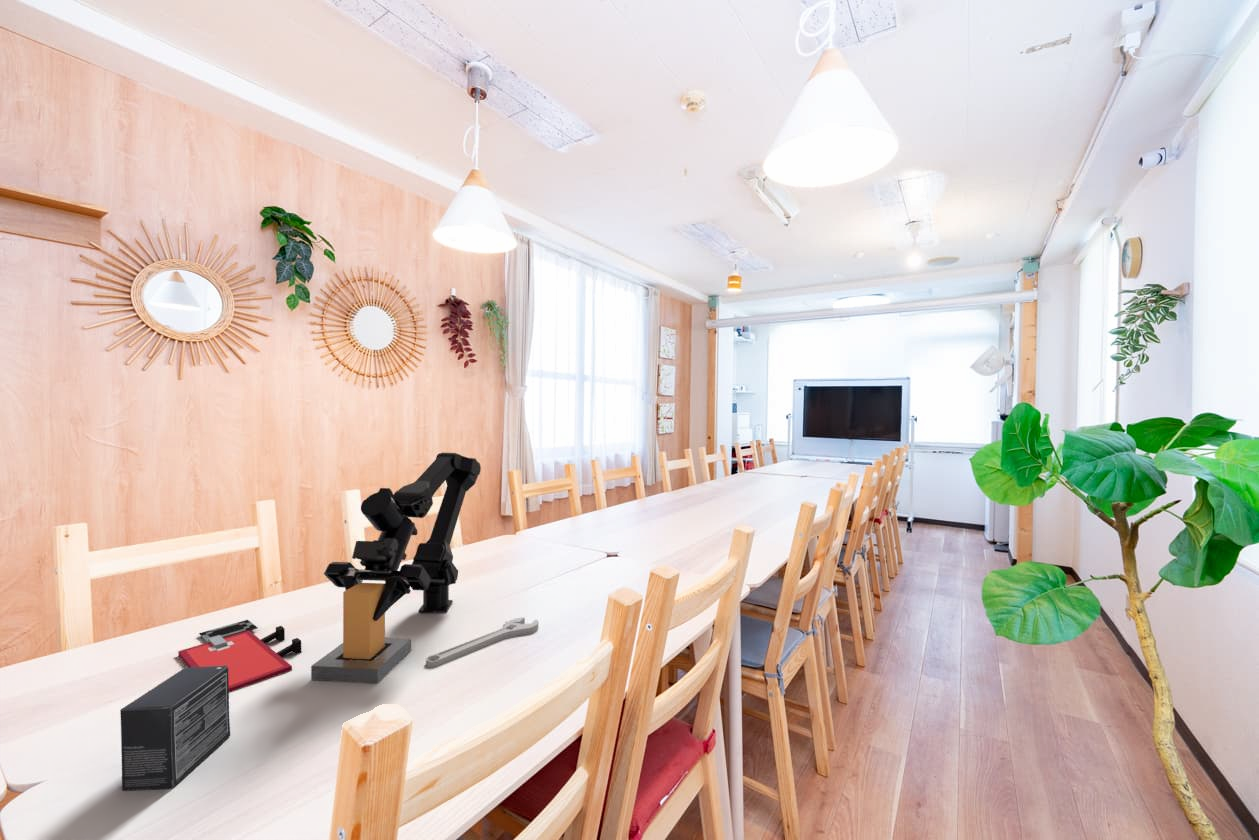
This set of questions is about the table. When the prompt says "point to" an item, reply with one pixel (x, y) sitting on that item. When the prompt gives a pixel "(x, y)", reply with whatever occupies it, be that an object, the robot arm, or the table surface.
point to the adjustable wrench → (483, 641)
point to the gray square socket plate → (361, 663)
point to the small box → (174, 728)
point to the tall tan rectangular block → (362, 621)
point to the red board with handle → (241, 653)
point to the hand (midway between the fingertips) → (360, 619)
